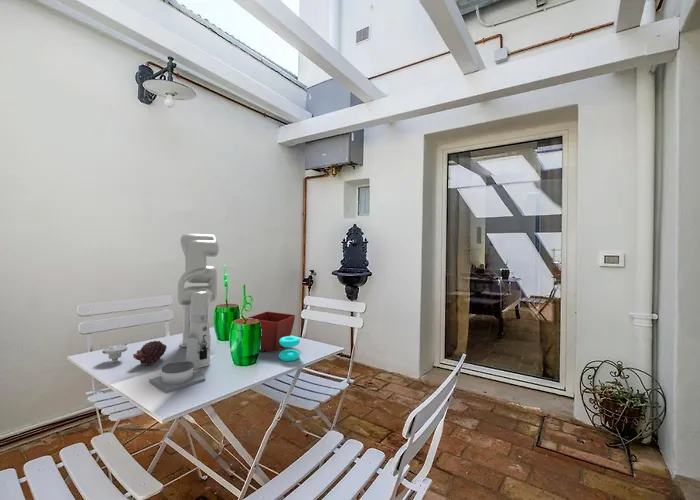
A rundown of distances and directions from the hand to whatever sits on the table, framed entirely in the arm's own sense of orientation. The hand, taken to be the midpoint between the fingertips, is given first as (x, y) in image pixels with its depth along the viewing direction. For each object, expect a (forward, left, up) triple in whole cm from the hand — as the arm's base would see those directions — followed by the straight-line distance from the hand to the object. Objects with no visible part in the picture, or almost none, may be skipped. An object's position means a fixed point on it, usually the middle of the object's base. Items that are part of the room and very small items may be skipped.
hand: (198, 356), depth 152 cm
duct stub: (+14, +10, -4) cm, 18 cm away
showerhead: (+22, -32, -4) cm, 39 cm away
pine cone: (+12, -18, -4) cm, 22 cm away
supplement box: (0, 0, -4) cm, 4 cm away
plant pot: (-39, +3, -4) cm, 39 cm away
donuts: (-34, +23, -4) cm, 41 cm away
